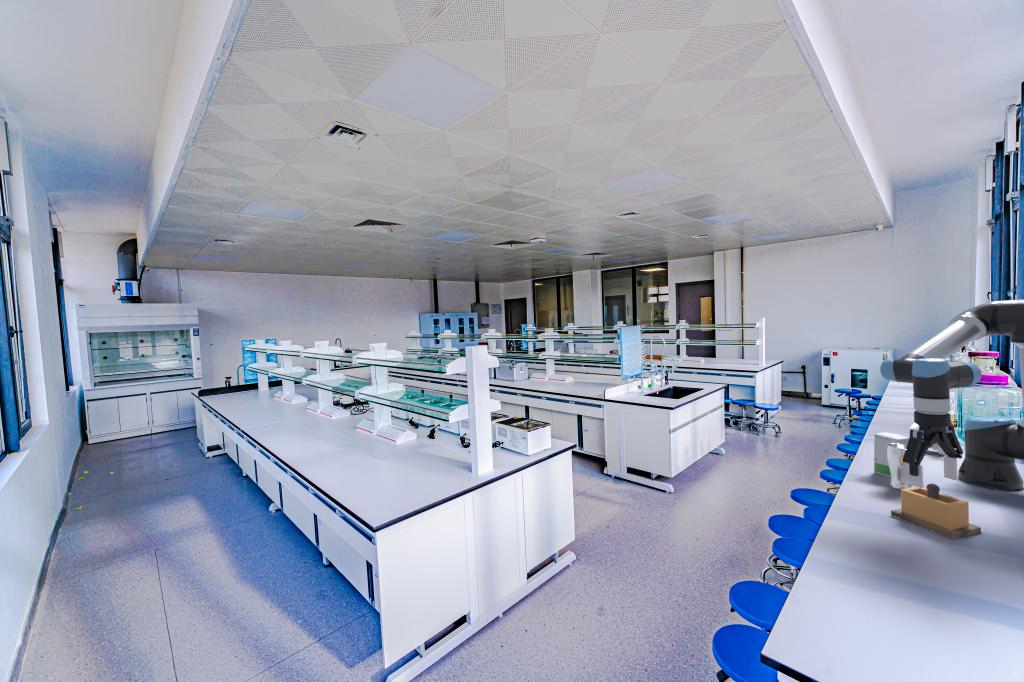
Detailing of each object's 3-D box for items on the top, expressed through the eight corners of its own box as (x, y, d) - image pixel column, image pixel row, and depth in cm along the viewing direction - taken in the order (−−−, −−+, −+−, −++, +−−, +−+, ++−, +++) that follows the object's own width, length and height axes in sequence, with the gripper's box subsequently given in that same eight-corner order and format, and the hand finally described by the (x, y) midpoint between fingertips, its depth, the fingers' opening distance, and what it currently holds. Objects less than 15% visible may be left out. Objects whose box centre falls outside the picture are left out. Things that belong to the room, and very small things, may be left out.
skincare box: (873, 472, 160) (872, 433, 160) (885, 470, 162) (885, 431, 161) (898, 480, 152) (897, 439, 152) (911, 477, 154) (910, 436, 153)
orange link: (901, 511, 127) (901, 489, 126) (918, 508, 128) (918, 486, 128) (950, 530, 115) (950, 505, 115) (968, 525, 116) (968, 501, 116)
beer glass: (893, 490, 144) (892, 448, 144) (884, 482, 151) (883, 442, 150) (919, 492, 142) (918, 449, 141) (908, 484, 148) (907, 443, 148)
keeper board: (917, 509, 130) (916, 472, 130) (980, 532, 116) (980, 490, 115) (891, 515, 128) (890, 477, 127) (952, 539, 113) (951, 496, 113)
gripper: (946, 404, 127) (948, 471, 128) (884, 414, 121) (887, 484, 122) (979, 408, 119) (981, 480, 120) (914, 419, 114) (917, 494, 115)
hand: (933, 482), depth 121 cm, fingers open, 13 cm apart
